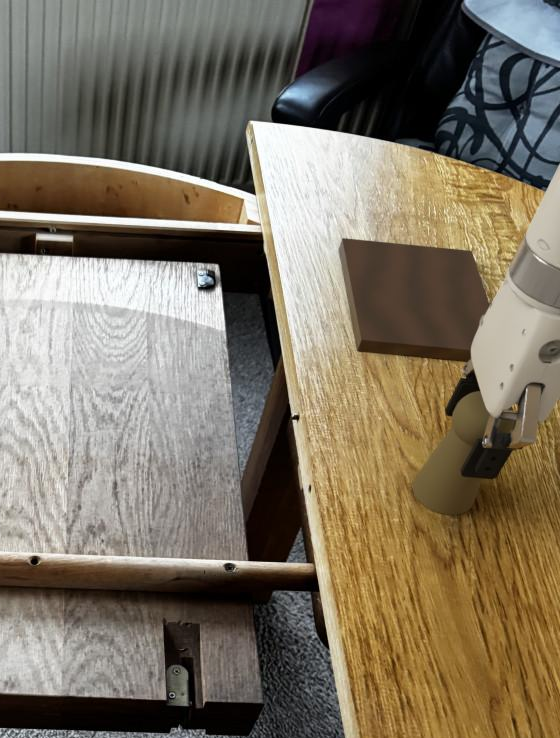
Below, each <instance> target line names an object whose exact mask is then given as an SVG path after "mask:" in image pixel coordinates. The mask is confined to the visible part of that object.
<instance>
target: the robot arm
mask: <svg viewBox="0 0 560 738" xmlns="http://www.w3.org/2000/svg"><path fill="white" fill-rule="evenodd" d="M461 375H462V377H460V378H459V380H458V382H457V384H456V386H455V388H454V390H453V392H452V394H451V396H450V397H449V400H448V402H447V404H446V406H445V408H444V413H445V415H446V416H447V417H451V418H452V414H453V411H454V409H455V407H456V405H457V404H458V402H459V401H460V400H461V399H462V398H463V397H465V396H466V395H468V394H470V393H473V392H476V391H481V395H482V398H483V401H484V404H485V407H486V409H487V410H488V412H489V413H490V414H489V418H488V422H487V425H486V429H485V433H484V436H483V439H477V440H476V442H475V444H474V446H473V448H472V449H471V451H470V453H469V455H468V457H467V459H466V460H465V462H464V464H463V466H462V468H461V470H460V471H461V475H462V476H463V477H472V478H483V480H495V479H496V478H498V476H499V475H500V473H501V471H502V469H503V468H504V466H505V465H506V463H507V461H508V460H509V458H510V456H511V454H512V453H513V452H516V451H518V450H522V449H524V448H526V447H529V446H533V444H535V442H536V441H537V435H538V426H539V424H541V423H544V421H546V420H547V419H548V418H549V417H550V415H551V413H552V412H553V410H554V408H555V406H556V405H557V403H558V401H559V400H560V163H559V164H558V166H557V168H556V170H555V172H554V175H553V176H552V178H551V180H550V182H549V184H548V186H547V189H546V190H545V193H544V195H543V196H542V199H541V200H540V203H539V204H538V206H537V209H536V211H535V212H534V215H533V217H532V219H531V221H530V223H529V225H528V228H527V229H526V231H525V233H524V236H523V237H522V239H521V242H520V244H519V246H518V247H517V250H516V252H515V253H514V256H513V258H512V260H511V262H510V264H509V266H508V268H507V270H506V272H505V279H504V280H503V282H502V284H501V285H500V287H499V289H498V291H497V292H496V293H495V295H494V297H493V299H492V301H491V303H490V306H489V308H488V310H487V312H486V314H485V315H482V316H481V318H480V322H479V327H478V330H477V332H476V335H475V337H474V340H473V342H472V345H471V357H470V360H469V361H466V362H465V363H464V365H463V366H462V371H461ZM514 405H517V410H514V411H510V410H508V409H509V408H510V407H512V408H513V406H514ZM500 419H507V420H514V423H513V426H512V430H511V432H510V433H498V434H497V430H498V426H499V423H500Z"/></svg>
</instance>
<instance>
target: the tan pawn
mask: <svg viewBox="0 0 560 738" xmlns="http://www.w3.org/2000/svg"><path fill="white" fill-rule="evenodd" d="M508 410H510V411H515V409H514V408H513V406H512V407H510V408H509V409H508ZM489 414H490V413H489V412H488V410H487V409H486V407H485V404H484V401H483V398H482V395H481V391H476V392H473V393H470V394H468V395H466V396H465V397H463V398H462V399H461V400H460V401H459V402H458V404H457V405H456V407H455V409H454V411H453V414H452V417H451V425H452V426H451V427H450V428H449V430H448V431H447V433H446V434H445V435H444V437H443V438H442V440H441V441H440V442H439V444H438V445H437V446H436V448H435V449H434V451H433V452H432V453H431V455H430V456H429V457H428V458H427V460H426V462H425V463H424V464H423V466H422V467H421V469H420V470H419V471H418V473H417V474H416V475H415V477H414V479H413V481H412V486H411V490H412V492H413V494H414V497H415V498H416V500H418V501H419V503H420V504H421V505H423V506H424V507H425V508H426V509H428V510H430V511H433V512H435V513H437V514H441V515H446V516H458V515H462V514H465V513H468V512H469V510H471V509H472V507H473V505H474V503H475V501H476V499H477V495H478V493H479V490H480V487H481V485H482V483H483V480H484V479H483V478H472V477H463V476H462V475H461V471H460V470H461V468H462V466H463V464H464V462H465V460H466V459H467V457H468V455H469V453H470V451H471V449H472V448H473V446H474V444H475V442H476V440H477V439H483V436H484V433H485V429H486V425H487V422H488V418H489ZM513 423H514V420H507V419H500V423H499V426H498V430H497V434H498V433H510V432H511V430H512V426H513Z"/></svg>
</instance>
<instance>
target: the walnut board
mask: <svg viewBox="0 0 560 738" xmlns="http://www.w3.org/2000/svg"><path fill="white" fill-rule="evenodd" d="M338 252H339V258H340V263H341V269H342V275H343V279H344V284H345V285H344V286H345V290H346V295H347V300H348V301H347V302H348V307H349V313H350V317H351V324H352V329H353V335H354V340H355V345H356V351H358V352H367V353H376V354H388V355H396V356H397V354H398V356H407V357H416V358H417V357H418V358H429V359H438V360H439V359H440V360H450V361H458V362H459V361H460V362H468V361H469V360H470V357H471V345H472V342H473V340H474V337H475V335H476V332H477V330H478V327H479V322H480V318H481V316H482V315H485V314H486V312H487V310H488V308H489V306H490V305H491V303H490V302H489V299H488V295H487V292H486V290H485V286H484V284H483V281H482V280H483V279H482V277H481V274H480V271H479V268H478V265H477V261H476V259H475V256H474V253H473V250H468V249H460V248H459V249H458V248H457V249H456V248H448V247H438V246H427V245H417V244H406V243H398V242H397V243H396V242H387V241H375V240H367V239H356V238H347V237H346V238H345V237H342V238H341V241H340V243H339V248H338Z"/></svg>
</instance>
